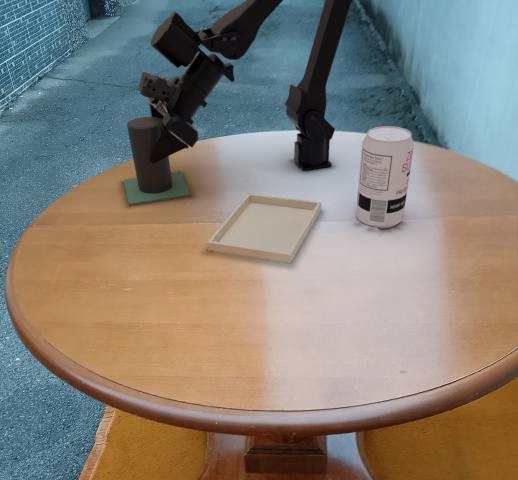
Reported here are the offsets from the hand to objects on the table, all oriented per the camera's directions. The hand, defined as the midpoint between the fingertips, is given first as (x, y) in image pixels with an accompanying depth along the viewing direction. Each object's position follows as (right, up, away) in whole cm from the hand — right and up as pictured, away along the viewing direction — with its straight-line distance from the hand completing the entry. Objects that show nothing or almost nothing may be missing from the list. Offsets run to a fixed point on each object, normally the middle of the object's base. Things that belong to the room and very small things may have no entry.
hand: (146, 153), depth 103 cm
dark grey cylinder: (+1, -5, +4) cm, 7 cm away
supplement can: (+43, -15, -8) cm, 46 cm away
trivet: (+1, -5, +5) cm, 7 cm away
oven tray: (+23, -17, -10) cm, 31 cm away
